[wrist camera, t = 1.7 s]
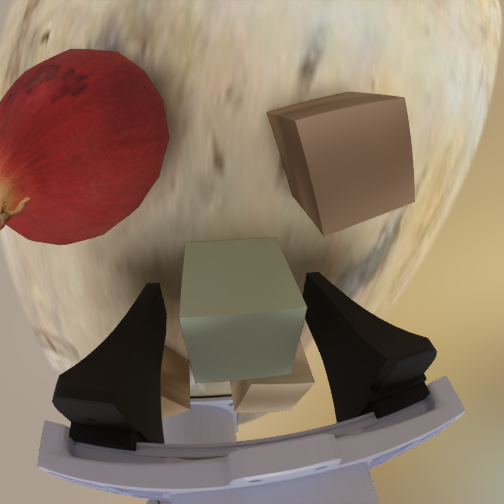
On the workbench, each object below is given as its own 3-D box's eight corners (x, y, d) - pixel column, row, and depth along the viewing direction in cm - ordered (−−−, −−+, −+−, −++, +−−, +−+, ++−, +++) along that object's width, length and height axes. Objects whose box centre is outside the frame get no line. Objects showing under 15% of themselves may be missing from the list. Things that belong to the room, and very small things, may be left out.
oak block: (189, 360, 18) (190, 409, 15) (153, 377, 19) (150, 421, 15) (147, 332, 16) (140, 385, 12) (113, 352, 17) (104, 399, 13)
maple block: (278, 367, 20) (289, 410, 17) (228, 365, 19) (234, 412, 15) (298, 334, 18) (314, 382, 15) (242, 331, 17) (251, 384, 14)
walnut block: (365, 170, 12) (414, 202, 9) (291, 194, 12) (323, 236, 9) (349, 91, 10) (404, 97, 7) (266, 112, 10) (295, 120, 7)
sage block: (269, 302, 16) (290, 373, 12) (194, 308, 15) (195, 383, 11) (275, 236, 13) (307, 307, 9) (185, 241, 13) (179, 317, 9)
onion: (38, 120, 8) (-96, 184, 1) (136, 35, 7) (27, -35, 1) (102, 213, 11) (23, 350, 5) (205, 143, 10) (201, 241, 4)
